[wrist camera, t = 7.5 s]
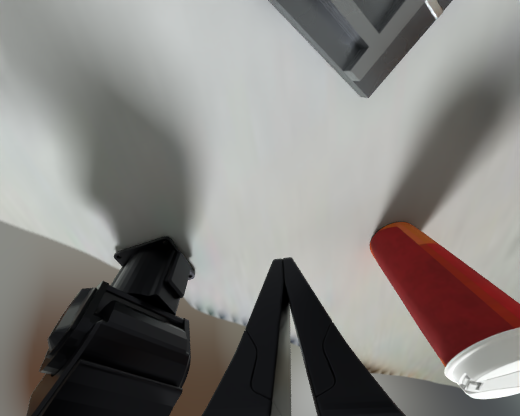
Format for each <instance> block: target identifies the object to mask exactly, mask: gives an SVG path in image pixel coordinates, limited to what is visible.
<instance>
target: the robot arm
mask: <svg viewBox="0 0 520 416" xmlns="http://www.w3.org/2000/svg"><path fill="white" fill-rule="evenodd" d="M165 241H167V242H165ZM114 258H115V259H116V260H117V261H118V262H119V263H120V265H121V266H122V268H121V269H120V271H119V273H118V274H117V276H116V278H115V279H114V281H113V283H112V284H111V286H110V285H109V283H106V282H104V281H102V282H101V283H100V284H99V285H98V286H97V287H96V288H86V289H82V290H81V291H80V292H79V293H78V294H77V296H76V297H75V298H74V300H73V301H72V302H71V304H70V305H69V306H68V308H67V309H66V311H65V312H64V313H63V315H62V316H61V318H60V320H59V321H58V323H57V325H56V326H55V328H54V329H53V331H52V333H51V335H50V336H49V338H48V344H49V349H48V351H47V354H46V356H45V359H44V361H43V363H42V365H41V367H40V370H39V371H40V372H42V373H46V374H45V376H44V377H43V378H42V380H41V381H40V383H39V384H38V385H37V387H36V388H35V390H34V391H33V393H32V395H31V398H30V401H29V407H28V411H27V415H26V416H169V415H170V413H171V411H172V409H173V406H174V405H175V403H176V402H177V400H178V399H179V397H180V395H181V393H182V386H183V384H184V382H185V380H186V377H187V374H188V371H189V367H190V358H191V356H190V331H189V320H187V319H185V318H184V319H182V318H180V317H178V316H176V311H177V307H178V303H179V300H180V298H182V297H183V296H184V293H185V289H186V285H187V281H188V280H190V279H193V278H194V276H195V272H194V271H193V269H192V268H191V265H190V264H189V263H188V261H187V260H186V258H185V257H184V255H183V254H182V253H181V252H180V251H179V250H178V248H177V247H176V245H175V244H174V242H173V241H172V240H171V238H169V237H162V238H159V239H156V240H153V241H149V242H146V243H143V244H140V245H137V246H134V247H130V248H127V249H124V250H121V251H118V252H116V254H115V255H114ZM289 304H290V305H289ZM290 309H291V313H292V317H293V321H294V325H295V329H296V333H297V337H298V341H299V345H300V349H301V352H302V356H303V360H304V364H305V368H306V372H307V376H308V380H309V384H310V388H311V392H312V396H313V400H314V404H315V408H316V412H317V416H406V415H405V414H404V413H403V412H402V411H401V410H400V409H399V408H398V407H397V406H396V404H395V403H393V401H392V400H391V399H390V398H389V396H388V395H387V394H386V392H385V391H384V390H383V389H382V387H381V386H380V385H379V384H378V382H377V381H376V380H375V379H374V377H373V376H372V375H371V374H370V373H369V371H368V370H367V369H366V368H365V366H364V365H363V364H362V363H361V361H360V360H359V359H358V357H357V356H356V355H355V353H354V352H353V351H352V349H351V348H350V347H349V346H348V344H347V343H346V341H345V340H344V338H343V337H342V335H341V334H340V332H339V331H338V329H337V328H336V326H335V325H334V323H332V320H331V318H330V317H329V315H328V314H327V312H326V311H325V309H324V307H323V306H322V304H321V303H320V301H319V300H318V298H317V296H316V295H315V293H314V292H313V290H312V289H311V287H310V285H309V284H308V282H307V281H306V279H305V278H304V276H303V274H302V273H301V271H300V270H299V268H298V267H297V265H296V263H295V262H294V260H293V259H292V258H291V257H289V258H283V260H282V259H274V260H273V262H272V264H271V267H270V269H269V272H268V274H267V277H266V279H265V282H264V284H263V287H262V289H261V291H260V294H259V296H258V299H257V301H256V304H255V306H254V309H253V311H252V314H251V316H250V319H249V321H248V324H247V326H246V329H245V330H246V331H244V333H243V336H242V338H241V341H240V343H239V345H238V348H237V350H236V352H235V354H234V356H233V359H232V361H231V362H230V364H229V366H228V369H227V370H226V372H225V374H224V376H223V378H222V380H221V382H220V383H219V385H218V387H217V389H216V391H215V393H214V395H213V397H212V398H211V400H210V402H209V404H208V406H207V408H206V409H205V411H204V413H203V414H202V416H291V360H290Z"/></svg>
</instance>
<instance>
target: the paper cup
mask: <svg viewBox="0 0 520 416" xmlns="http://www.w3.org/2000/svg"><path fill="white" fill-rule="evenodd" d="M370 250H371V253H372V254H373V256H374V258H375V259H376V261H377V263H378V264H379V266H380V267H381V269H382V270H383V272H384V274H385V275H386V277H387V278H388V280H389V281H390V283H391V284H392V286H393V287H394V289H395V291H396V292H397V294H398V295H399V297H400V298H401V300H402V301H403V303H404V305H405V306H406V308H407V309H408V311H409V312H410V314H411V316H412V317H413V319H414V320H415V322H416V324H417V325H418V327H419V328H420V330H421V331H422V333H423V334H424V336H425V337H426V339H427V340H428V342H429V343H430V345H431V346H432V348H433V349H434V351H435V352H436V354H437V355H438V357H439V358H440V360H441V361H442V363H443V364H444V366H445V371H444V372H445V375H446V376H447V378H449V379H450V380H451V381H453V382H456V383H457V384H458V385H459V386H460V387H461V388H462V390H463V391H464V392H465V393H466V394H467V395H469V396H471V397H472V398H477V399H491V398H500V397H505V396H510V395H514V394H518V393H520V304H519V303H518V302H516V301H515V300H514V299H512V298H511V297H510V296H508V295H507V294H506V293H504V292H503V291H502V290H500V289H499V288H498V287H496V286H495V285H493V284H492V283H491V282H489V281H488V280H487V279H485V278H484V277H483V276H481V275H480V274H479V273H477V272H476V271H475V270H473V269H472V268H471V267H469V266H468V265H467V264H465V263H464V262H462V261H461V260H460V259H458V258H457V257H456V256H454V255H453V254H452V253H450V252H449V251H448V250H446V249H445V248H444V247H442V246H441V245H439V244H438V243H437V242H435V241H434V240H433V239H431V238H430V237H428V236H427V235H426V234H424V233H423V232H422V231H420V230H419V229H417V228H416V227H414V226H413V225H411V224H409V223H407V222H395V223H391V224H389V225H387V226H385V227H383V228H381V229H380V230H379V231H378V232H377V233H376V234H375V235H374V236H373V238H372V239H371V242H370Z"/></svg>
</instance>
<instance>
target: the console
mask: <svg viewBox="0 0 520 416" xmlns="http://www.w3.org/2000/svg"><path fill="white" fill-rule="evenodd" d="M268 1H269V2H270V3H271V4H272V5H273V6H274V7H275V8H276V9H277V10H278V11H279V12H280V13H281V14H282V15H283V16H284V17H285V18H286V19H287V20H288V21H289V22H290V23H291V25H292V26H293V27H294V28H295V29H296V30H297V31H298V32H299V33H300V34H301V35H302V36H303V37H304V38H305V39H306V40H307V41H308V42H309V43H310V44H311V45H312V46H313V47H314V49H315V50H316V51H317V52H318V53H319V54H320V55H321V56H322V57H323V58H324V59H325V60H326V61H327V62H328V63H329V64H330V65H331V66H332V67H333V68H334V69H335V70H336V71H337V72H338V74H339V75H340V76H341V77H342V78H343V79H344V80H345V81H346V82H347V83H348V84H349V85H350V86H351V87H352V88H353V89H354V90H355V91H356V92H357V93H358V94H359V95H360V96H361V97H365V98H369V97H370V96H371V94H372V93H373V92H374V91H375V90H376V89H377V87H378V86H379V85H380V84H381V83H382V82H383V80H384V79H385V78H386V77H387V76H388V75H389V73H390V72H391V71H392V70H393V69H394V68H395V66H396V65H397V64H398V63H399V62H400V61H401V60H402V58H403V57H404V56H405V55H406V54H407V53H408V51H409V50H410V49H411V48H412V47H413V46H414V44H415V43H416V42H417V41H418V40H419V39H420V37H421V36H422V35H423V34H424V33H425V32H426V30H427V29H428V28H429V27H430V26H431V25H432V24H433V22H434V21H435V20H436V19H437V18H439V16H440V15H441V14H442V13H443V11H444V10H445V8H446V7H447V6H448V5H449V4H450V3H451V1H452V0H268Z"/></svg>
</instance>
